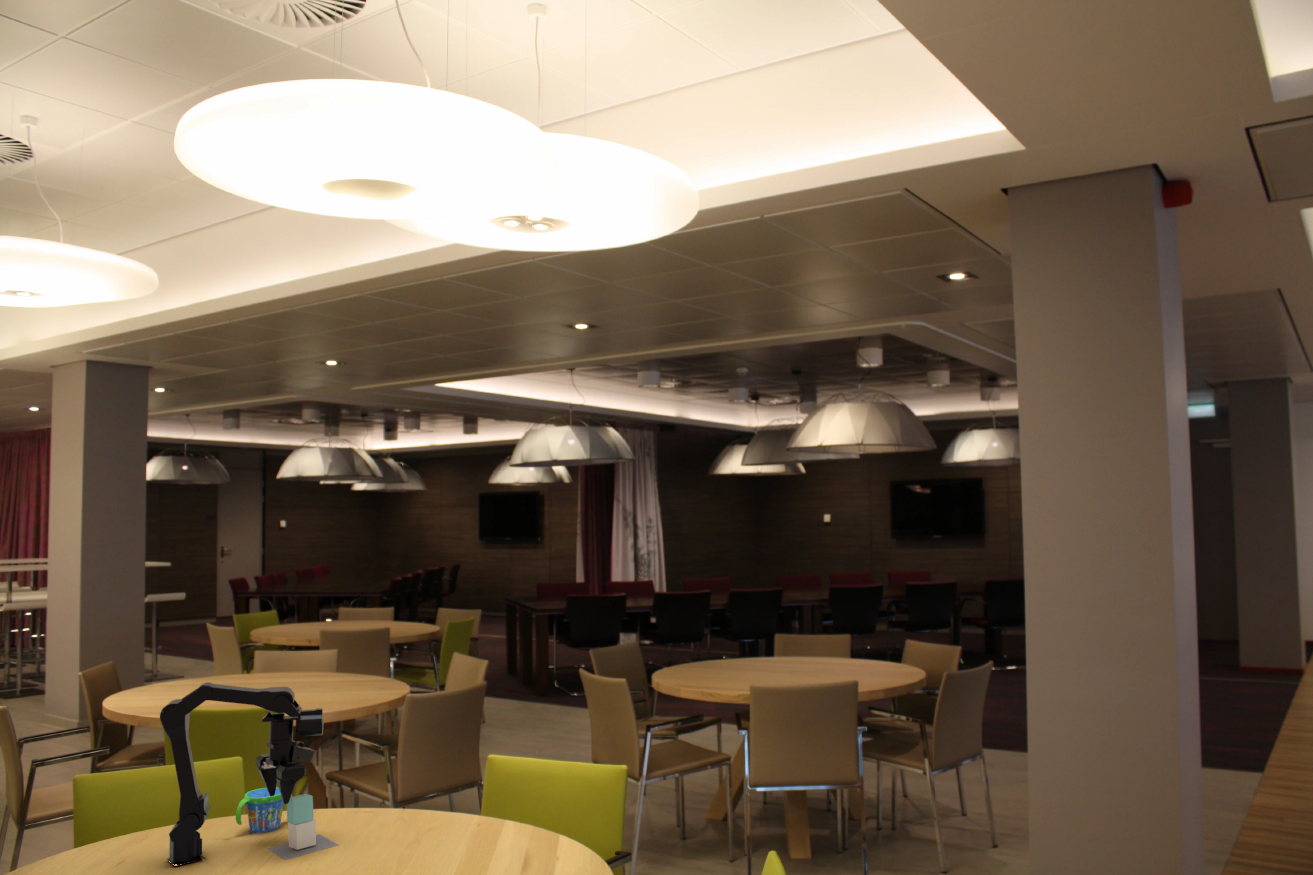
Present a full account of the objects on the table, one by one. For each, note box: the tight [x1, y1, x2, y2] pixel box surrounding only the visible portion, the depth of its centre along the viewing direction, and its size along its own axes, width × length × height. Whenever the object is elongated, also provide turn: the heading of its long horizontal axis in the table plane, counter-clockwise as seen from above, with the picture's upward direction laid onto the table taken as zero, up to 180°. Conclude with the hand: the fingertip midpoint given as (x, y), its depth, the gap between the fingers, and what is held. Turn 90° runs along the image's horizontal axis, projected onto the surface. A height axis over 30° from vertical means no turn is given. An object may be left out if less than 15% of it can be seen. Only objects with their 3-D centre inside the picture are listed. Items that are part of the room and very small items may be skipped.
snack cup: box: [235, 786, 294, 834], centre depth 257 cm, size 16×10×10 cm
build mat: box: [265, 833, 339, 861], centre depth 241 cm, size 14×12×1 cm
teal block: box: [286, 793, 315, 825], centre depth 243 cm, size 5×5×6 cm
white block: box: [287, 819, 317, 850], centre depth 242 cm, size 5×5×6 cm
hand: (279, 799), depth 242 cm, fingers open, 9 cm apart
